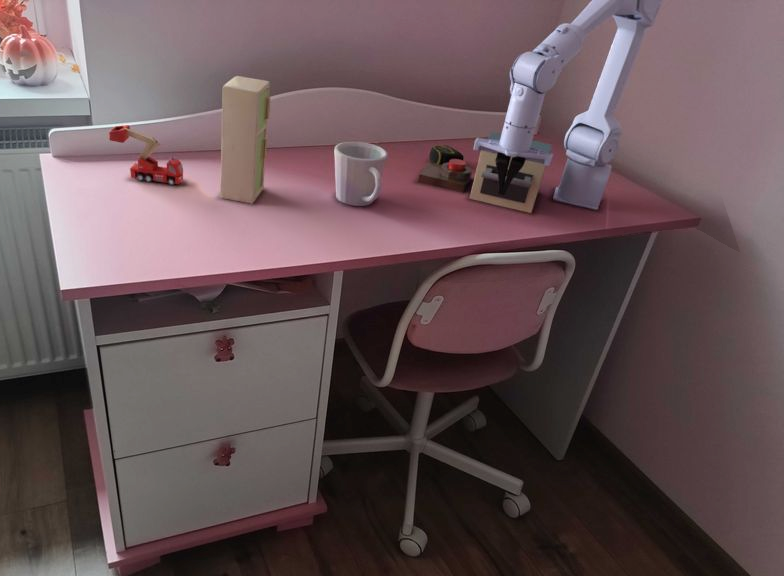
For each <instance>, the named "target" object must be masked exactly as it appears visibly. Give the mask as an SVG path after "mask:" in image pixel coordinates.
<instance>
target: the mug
mask: <svg viewBox="0 0 784 576" xmlns="http://www.w3.org/2000/svg"><path fill="white" fill-rule="evenodd" d="M333 150H334V175H335V177H334V178H335V197H336V199H337V200H338V201H339V202H341V203H343V204H345V205H348V206H354V207H364V206H369V205H371V204H372V203H374V201H375V200H377V198H378V197H379V196H380V193H381V189H382V175H383V172H384V169H385V165H386V163H387V160H388V157H389V156H388V152H387V150H385V149H384V148H382V147H381V146H379V145H376V144H373V143H369V142H363V141H345V142H341V143H338V144H336V145H335V146H334V149H333Z"/></svg>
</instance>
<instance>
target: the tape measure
mask: <svg viewBox="0 0 784 576" xmlns="http://www.w3.org/2000/svg"><path fill="white" fill-rule="evenodd" d="M428 157H429V162H431V163H435V164H440V165H442V164H443V163H448V162H450V160H451V159H459V160H463V161H464V159H465V157H464V155H463V154H462V153H461V152H460V151H458V150H457V149H455V148H453V147H451V146H449V145H447V144H444V145H440V144H439V145H434V146H432V147H431V150H430V151H429V155H428Z"/></svg>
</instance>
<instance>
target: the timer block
mask: <svg viewBox="0 0 784 576" xmlns="http://www.w3.org/2000/svg"><path fill="white" fill-rule="evenodd" d="M448 166H449V162H448V163H443V164H442V165H440V164H435V163H432V162H431V161H429V162H428V163H427V164H426V165H425V166H424V168H423V169H422V171H421V172H420V173H419V175H418V180H417V182H418V183H421V184H425V185H429V186H433V187H437V188H440V189H446V190H451V191H455V192H458V193H464V192H465V190H466V188H467V186H468V184H469V183H470V181H471V178H472V174H473V173H472V172H473V169H472V168H471V167H470V166H468V165H466V167H465V171H462V172H459V171H453V170H450V169H448Z"/></svg>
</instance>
